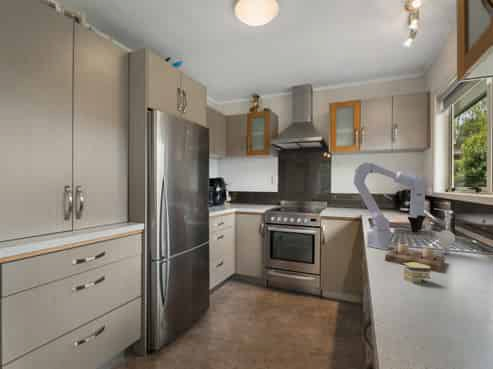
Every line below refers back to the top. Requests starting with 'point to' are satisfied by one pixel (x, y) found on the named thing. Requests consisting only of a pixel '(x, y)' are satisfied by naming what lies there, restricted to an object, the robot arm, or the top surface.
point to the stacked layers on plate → (416, 272)
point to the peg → (428, 254)
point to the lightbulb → (446, 240)
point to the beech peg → (402, 249)
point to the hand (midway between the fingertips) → (416, 231)
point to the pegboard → (415, 259)
